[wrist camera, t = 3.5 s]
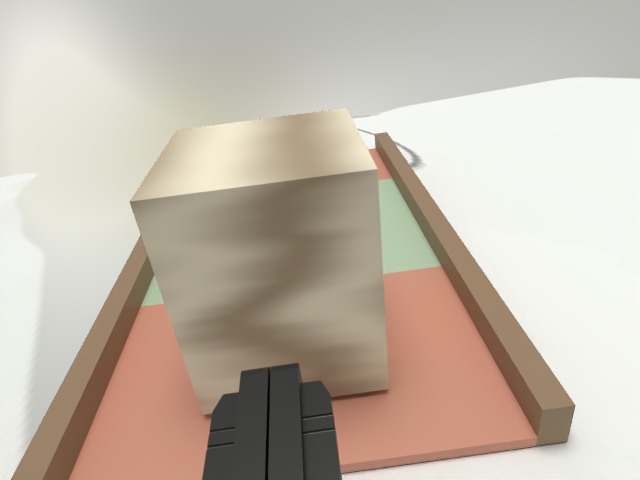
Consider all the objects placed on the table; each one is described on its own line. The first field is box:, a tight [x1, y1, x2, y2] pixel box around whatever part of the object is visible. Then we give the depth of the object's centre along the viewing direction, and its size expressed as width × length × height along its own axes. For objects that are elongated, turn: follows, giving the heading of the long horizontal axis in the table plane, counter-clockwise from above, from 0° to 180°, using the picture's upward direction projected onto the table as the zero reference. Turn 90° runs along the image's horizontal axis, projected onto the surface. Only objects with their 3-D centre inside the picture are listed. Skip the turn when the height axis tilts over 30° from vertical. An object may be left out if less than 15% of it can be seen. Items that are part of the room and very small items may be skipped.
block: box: [130, 108, 389, 415], centre depth 21 cm, size 8×8×10 cm
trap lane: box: [11, 132, 575, 480], centre depth 32 cm, size 20×34×2 cm, turn 4°
